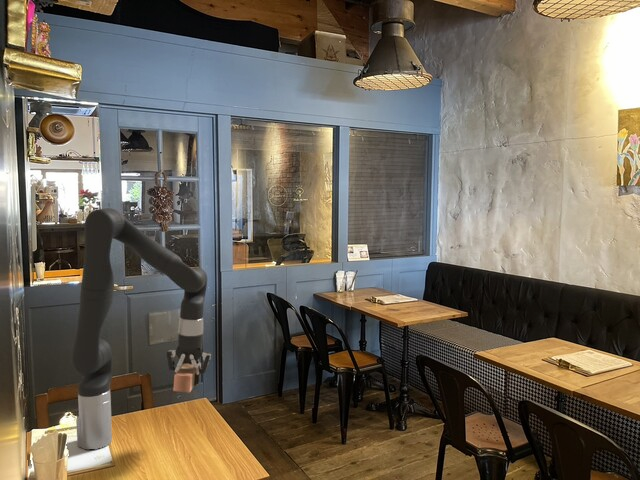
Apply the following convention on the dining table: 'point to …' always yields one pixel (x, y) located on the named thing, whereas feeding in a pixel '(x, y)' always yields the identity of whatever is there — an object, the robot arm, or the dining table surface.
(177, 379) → the walnut block
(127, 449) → the dining table surface
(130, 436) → the dining table surface
